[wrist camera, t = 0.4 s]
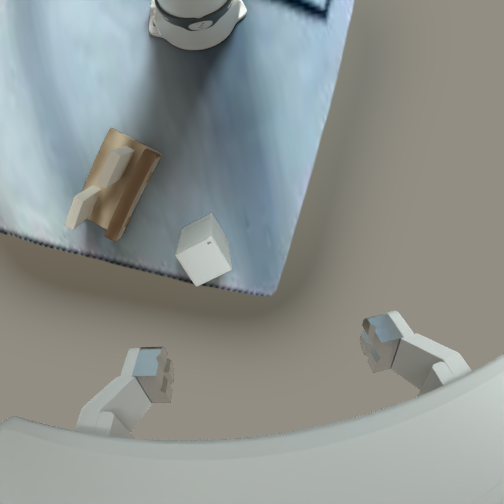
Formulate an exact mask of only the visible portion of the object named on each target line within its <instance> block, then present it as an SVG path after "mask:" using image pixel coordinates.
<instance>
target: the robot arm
mask: <svg viewBox="0 0 504 504" xmlns="http://www.w3.org/2000/svg"><path fill="white" fill-rule="evenodd" d="M150 9H151V10H150V22H149V32H150V34H151V35H153V36H156V37H161V38H164V39H166V40H167V41H168V42H169V43H171V44H172V45H174V46H176V47H178V48H181V49H186V50H202V49H207V48H210V47H213V46H215V45H217V44H219V43H220V42H222V41H223V40H224V39H225V38H227V37H228V35H229V34H230V33H231V31H232V30H233V28H234V26H235V24H236V23H237V22H238V21H239V20H241V19H242V18H243V17H244V16H245V15H246V14H247V9H246V7H245V5H244V3H243V2H242V0H151V6H150ZM154 24H155V25H156V26H154ZM362 326H363V328H364V330H363V332H362V333H361V336H360V344H361V348H362V351H363V353H364V355H366V356H368V357H369V359H368V363H369V365H370V367H371V369H372V371H373V373H375V372H379V371H383V370H387V369H390V368H391V370H393V371H394V372H396V373H397V374H398V375H400V376H401V377H403V378H404V379H405V380H407V381H408V382H410V383H411V384H412V385H414V386H415V387H417V388H418V389H420V392H419V394H418V396H417V397H415V398H412V399H410V400H407V401H404V402H401V403H399V404H396V405H393V406H390V407H387V408H384V409H381V410H378V411H375V412H371V413H368V414H365V415H361V416H358V417H354V418H350V419H347V420H343V421H339V422H335V423H331V424H326V425H322V426H317V427H312V428H307V429H302V430H296V431H291V432H284V433H278V434H271V435H264V436H255V437H245V438H235V439H220V440H191V441H177V440H175V441H174V440H147V439H135V438H134V437H133V435H132V434H131V433H130V432H131V431H132V430H133V428H134V427H135V426H136V424H137V423H138V422H139V420H140V419H141V418H142V416H143V415H144V414H145V413H146V411H147V410H148V409H149V408H150V406H151V405H152V403H170V402H171V397H172V388H171V386H170V385H171V384H172V383H173V382H174V368H173V364H172V362H171V360H170V359H168V358H167V354H168V353H167V351H166V348H165V347H141V348H130V349H129V350H128V353H127V356H126V359H125V363H124V366H123V369H122V372H121V376H120V377H119V376H117V377H116V378H115V379H114V380H113V381H112V382H110V383H109V384H108V385H107V386H106V387H105V388H104V389H103V390H102V391H101V392H99V393H98V394H97V395H96V396H95V397H94V398H93V399H92V400H90V401H89V402H88V403H87V404H86V405H85V406H84V407H83V408H82V410H81V413H80V416H79V419H78V422H77V426H76V429H75V431H74V430H68V429H64V428H59V427H55V426H50V425H46V424H42V423H38V422H34V421H31V420H28V419H24V418H21V417H17V416H12V417H9V418H8V419H6V420H5V421H3V422H2V423H1V424H0V504H504V354H502V355H501V356H499V357H497V358H496V359H494V360H492V361H491V362H489V363H487V364H485V365H483V366H482V367H480V368H478V369H476V370H474V371H471V369H470V368H469V366H468V365H467V364H466V362H465V361H464V359H463V358H462V356H461V355H460V354H459V353H458V352H456V351H453V350H451V349H449V348H447V347H445V346H442V345H441V344H439V343H436V342H434V341H432V340H430V339H428V338H426V337H424V336H421V335H419V334H414V333H413V332H412V330H411V329H410V327H409V326H408V325H407V323H406V322H405V321H404V319H403V318H402V316H401V315H400V314H399V313H398V311H392V312H388V313H385V314H381V315H377V316H372V317H369V318H365V319H364V320H363V324H362Z"/></svg>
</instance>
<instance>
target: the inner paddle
mask: <svg viewBox="0 0 504 504" xmlns="http://www.w3.org/2000/svg"><path fill="white" fill-rule="evenodd" d="M134 152H135V150H133V149H131V148H130V147H128V146H125V147H121V148H117V149H114V150H111V151H110V153H109V155H108V157H107V160H106V162H105V164H104V166H103V168H102V171H101V173H100V175H99V178H98V180H97V182H96V183H97V184H99V185H101V186H102V187H104V188H107V187H109V186H110V185H112V184H113V183H115V182H116V181H118V180H119V179H121V178H122V176H123V174H124V172H125V170H126V168H127V166H128V164H129V162H130V160H131V158H132V156H133V154H134Z"/></svg>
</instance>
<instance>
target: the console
mask: <svg viewBox="0 0 504 504" xmlns="http://www.w3.org/2000/svg"><path fill="white" fill-rule="evenodd" d="M125 146H128V147H130V148H131V149H133V150H135V152H134V154H133V156H132V158H131V160H130V162H129V164H128V166H127V168H126V170H125V172H124V174H123V176H122V178H121V179H119V180H118V181H116V182H115V183H113V184H112V185H110V186H109V187H107V188H104V187H102V186H101V185H99V184H97V183H96V182H97V180H98V178H99V175H100V173H101V171H102V168H103V166H104V164H105V162H106V160H107V157H108V155H109V153H110V151H111V150H114V149H117V148H121V147H125ZM162 155H163V154H161V153H159V152H157V151H155V150H154V149H152V148H150V147H148V146H146V145H144V144H142V143H140V142H138V141H136V140H135V139H133V138H131V137H129V136H127V135H125V134H123V133H121V132H119V131H117V130H115V129H113V128H110V129H109V131H108V133H107V135H106V137H105V140H104V142H103V144H102V146H101V148H100V150H99V152H98V155H97V157H96V159H95V161H94V164H93V166H92V168H91V171H90V173H89V175H88V178H87V180H86V183H85V185H84V188H83V191H84V190H86V189H87V188H89V187H91V186H92V185H94V186H96V187H98V188H100V189H101V191H100V193H99V196H98V198H97V201H96V203H95V206H94V208H93V211H92V214H91V215H90V216H89V217H88V218H87V219H89V220H90V221H92V222H94V223H96V224H98V225H99V226H101V227H103V228H105V229H107V231H106V234H105V237H107V238H109V239H111V240H113V241H114V242H116V240H119V239H120V237H122V235H123V233H124V231H125V229H126V227H127V224H128V222H129V220H130V218H131V216H132V213H133V211H134V209H135V207H136V205H137V203H138V201H139V199H140V197H141V195H142V193H143V191H144V189H145V187H146V185H147V183H148V181H149V179H150V177H151V175H152V173H153V171H154V169H155V168H156V166H157V164H158V162H159V160H160V158H161V157H162Z"/></svg>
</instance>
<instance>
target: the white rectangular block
mask: <svg viewBox="0 0 504 504" xmlns="http://www.w3.org/2000/svg"><path fill="white" fill-rule="evenodd" d="M100 191H101V189H100V188H98V187H96V186H94V185H92V186H91V187H89V188H87V189H86V190H84V191H82V192H81V193H79V194H77V195H76V196H74V199H73V202H72V204H71V207H70V210H69V213H68V216H67V220H66V223H65V226H66V227H68V228H70V229H71V230H74V229H75V228H77V227H78V226H79V225H80V224H81V223H82V222H83V221H84V220H86V219H87V218H88V217H89V216H90V215H91V214H92V211H93V208H94V206H95V203H96V201H97V198H98V196H99V193H100Z"/></svg>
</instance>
